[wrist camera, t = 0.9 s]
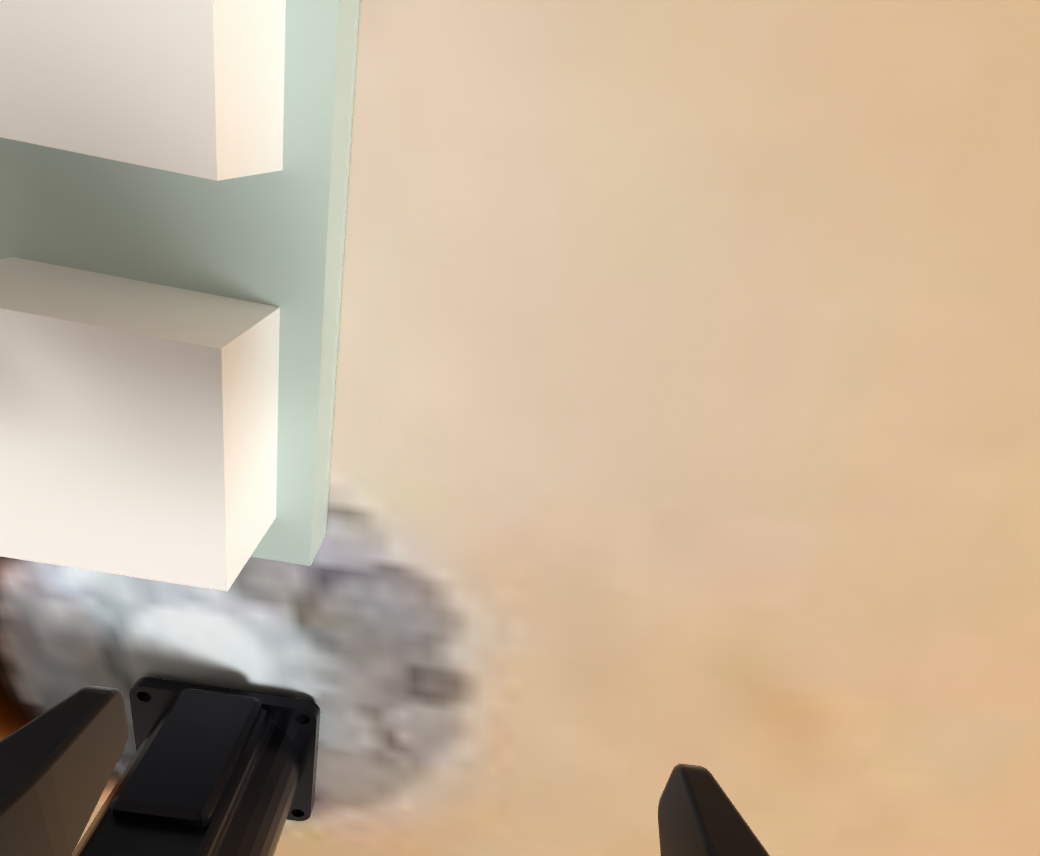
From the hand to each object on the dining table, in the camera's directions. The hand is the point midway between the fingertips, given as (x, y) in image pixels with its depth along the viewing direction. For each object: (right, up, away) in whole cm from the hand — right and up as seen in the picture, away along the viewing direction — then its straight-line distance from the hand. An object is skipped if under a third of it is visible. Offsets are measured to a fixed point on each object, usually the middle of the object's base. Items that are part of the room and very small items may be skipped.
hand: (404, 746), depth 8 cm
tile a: (-8, +5, +7) cm, 12 cm away
